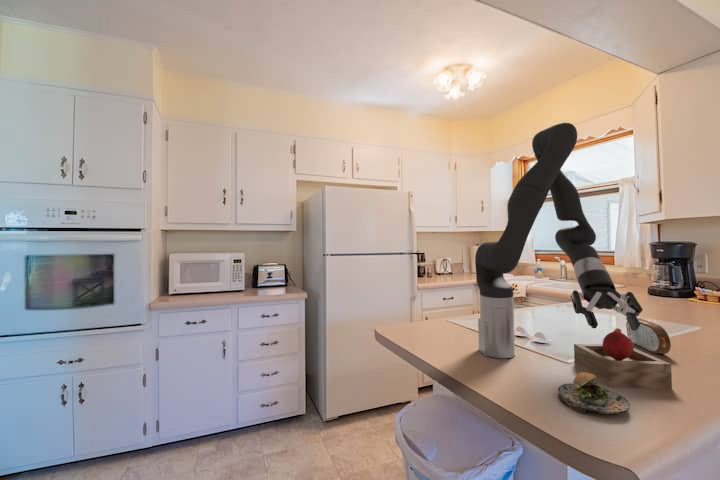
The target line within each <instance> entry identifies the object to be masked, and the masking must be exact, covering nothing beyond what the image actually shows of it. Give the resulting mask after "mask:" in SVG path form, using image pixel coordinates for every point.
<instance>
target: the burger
mask: <svg viewBox="0 0 720 480" xmlns="http://www.w3.org/2000/svg"><path fill="white" fill-rule="evenodd" d="M578 366H579V365H578ZM578 369H579V370H580V372H579V373H578V374H576V375H575V377H574V379H573V383H570V382H569V383H563V384H561V385H559V387H558V389H557V390H558V394H557V398H558V400H559V401H560V403H562V404H563V405H565V407H567V408H569V409H571V410H572V411H577V413H580V414H583V415H584V414H585V413H586V411H590V412H595V413H600V414H608V415H609V414H612V415H613V414H619V413H622V412H625V411H628V410H629V409H630V403H629V401H628V399H626V398H625V397H623V396H622V395H621V394H617V393H616V392H614V391H610V390H609V389H606V388H603V387H602V386H601V385H600V384H599V383H598V382H596V381H595V380H597V379H596V378H597V377H596V376H595V375H593V374H591V373H587V372H585V371H581V370H582V369H581V368H580V367H578Z"/></svg>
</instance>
